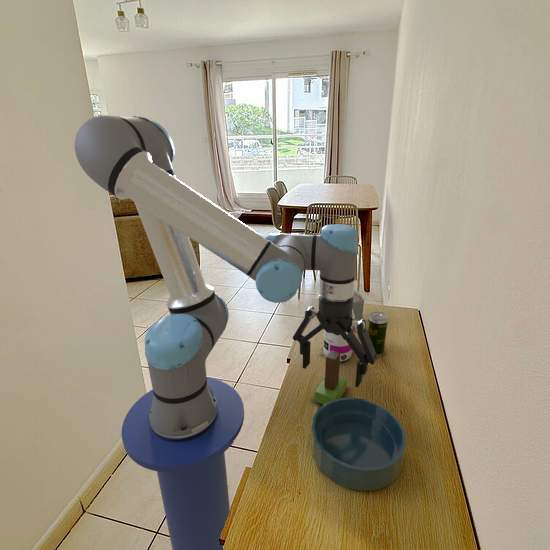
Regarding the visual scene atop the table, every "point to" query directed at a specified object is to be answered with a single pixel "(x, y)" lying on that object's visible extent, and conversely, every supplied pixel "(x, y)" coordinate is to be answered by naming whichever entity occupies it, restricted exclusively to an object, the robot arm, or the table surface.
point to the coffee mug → (358, 305)
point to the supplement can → (337, 344)
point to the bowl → (358, 443)
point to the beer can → (377, 331)
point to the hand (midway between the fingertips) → (331, 374)
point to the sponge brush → (331, 381)
